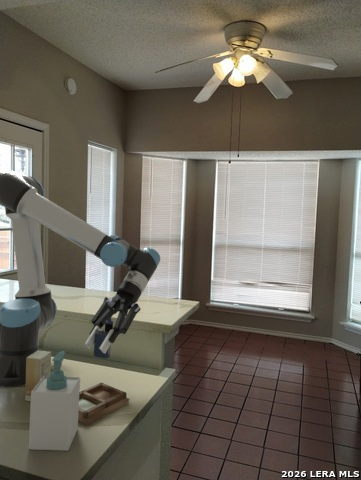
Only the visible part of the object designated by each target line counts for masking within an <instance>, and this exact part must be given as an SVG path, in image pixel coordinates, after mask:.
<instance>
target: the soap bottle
mask: <svg viewBox="0 0 361 480" xmlns="http://www.w3.org/2000/svg"><path fill="white" fill-rule="evenodd" d="M65 353H66V351H64V350H61V351H59V352H58V353H57V354H56V355H54V357H53V358H51V362H53V368H54V370H53V371H51V374H50V376H43V378H42V379H41V380H40V381H39V383H38V384H37V385H36V386H35V388H34V389H33V390H32V391H31V401H30V405H29V406H30V408H29V409H30V410H29V412H30V413H29V429H28V430H29V433H28V449H29V450H35V451H37V450H39V451H40V450H41V451H46V450H47V451H65V452H67V451H69V450H70V447H71V445H72V444H73V441H74V438H75V437H76V434H77V431H78V429H79V421H78V411H79V392H80V391H81V390H80V386H81V385H80V384H81V383H80V382H81V377H79V376H66V375H65V373H64V371H63V370H61V367H62V365H63V364H62V363H63V361H64V357H65Z"/></svg>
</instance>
